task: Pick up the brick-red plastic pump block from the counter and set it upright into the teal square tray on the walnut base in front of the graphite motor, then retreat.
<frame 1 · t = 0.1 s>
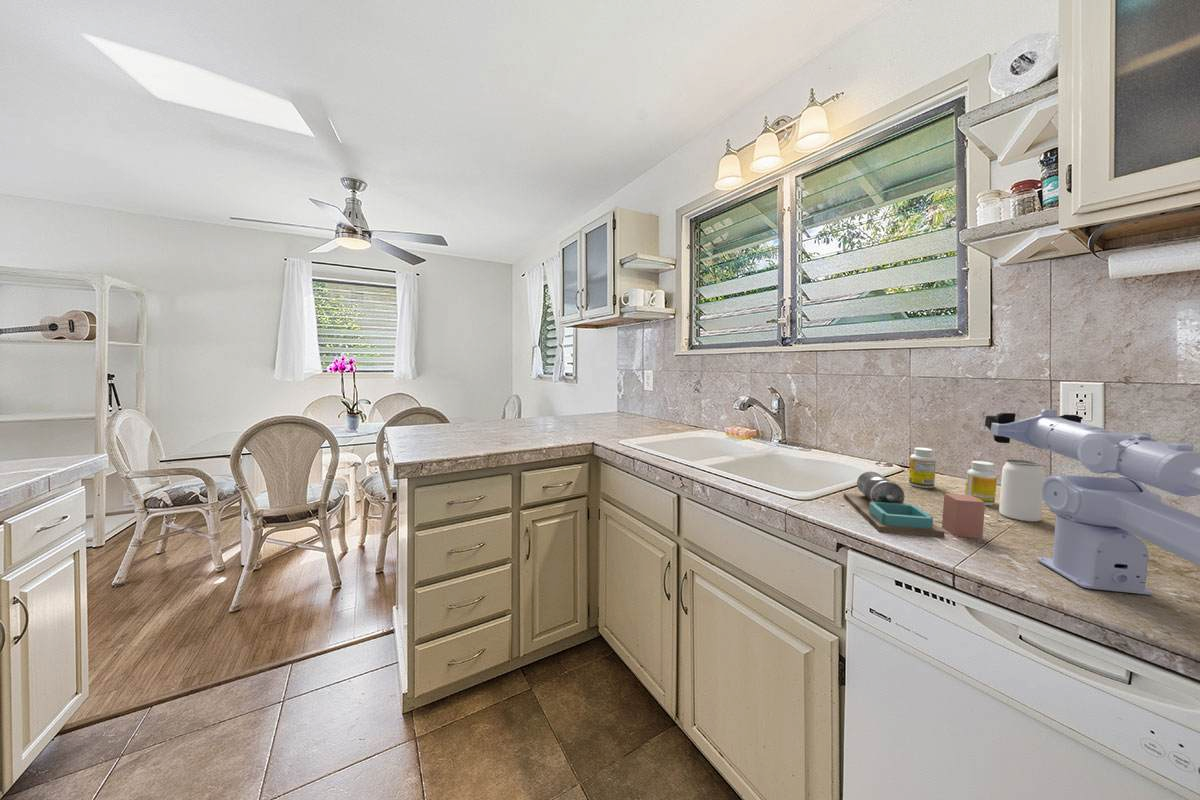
hand: (1010, 421, 83), 22 cm above the countertop, tool horizontal, fingers open, 7 cm apart
can: (1019, 518, 91), on the countertop
teal square tray: (899, 514, 87), on the base plate, point 1 cm above the countertop
supplement bottle: (979, 502, 101), on the countertop
supplement bottle 2: (921, 486, 115), on the countertop
pump block: (961, 532, 83), on the countertop
base plate: (898, 523, 87), on the countertop
motor: (880, 490, 97), on the base plate, point 4 cm above the countertop
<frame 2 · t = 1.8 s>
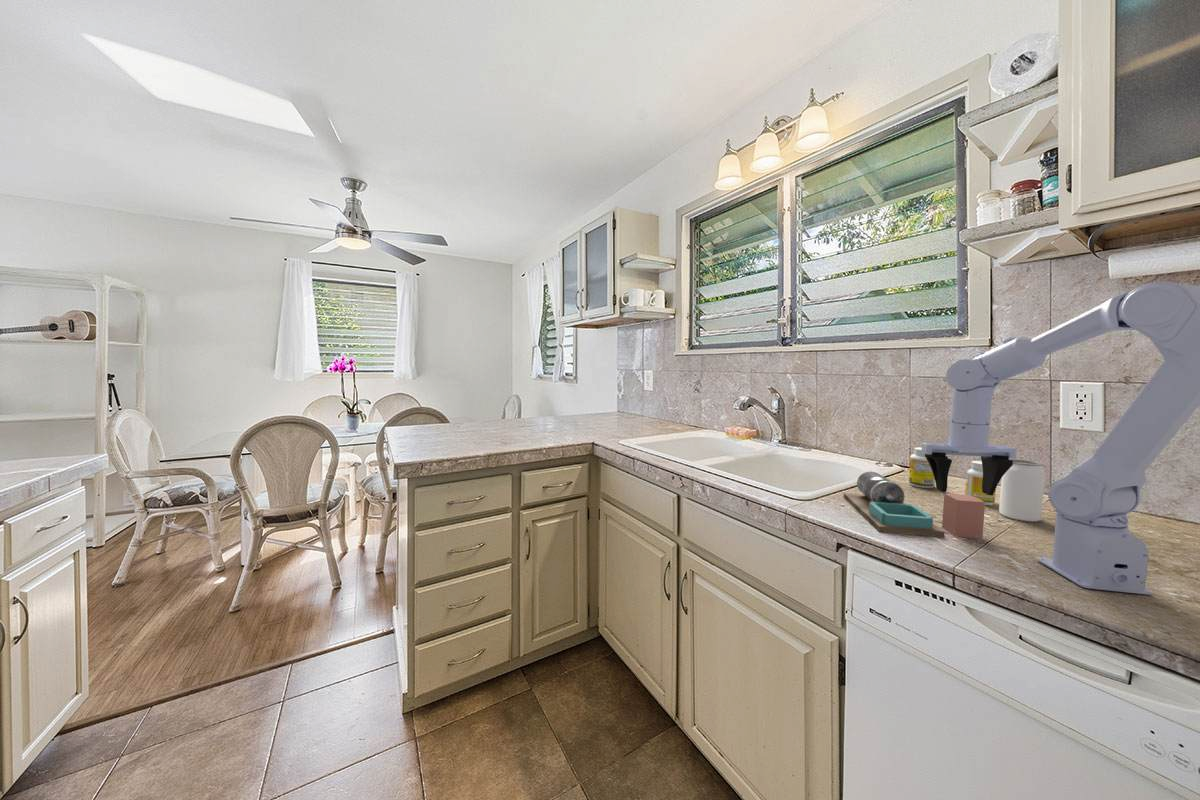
hand: (964, 492, 82), 8 cm above the countertop, tool pointing down, fingers open, 7 cm apart
nothing on the countertop moved.
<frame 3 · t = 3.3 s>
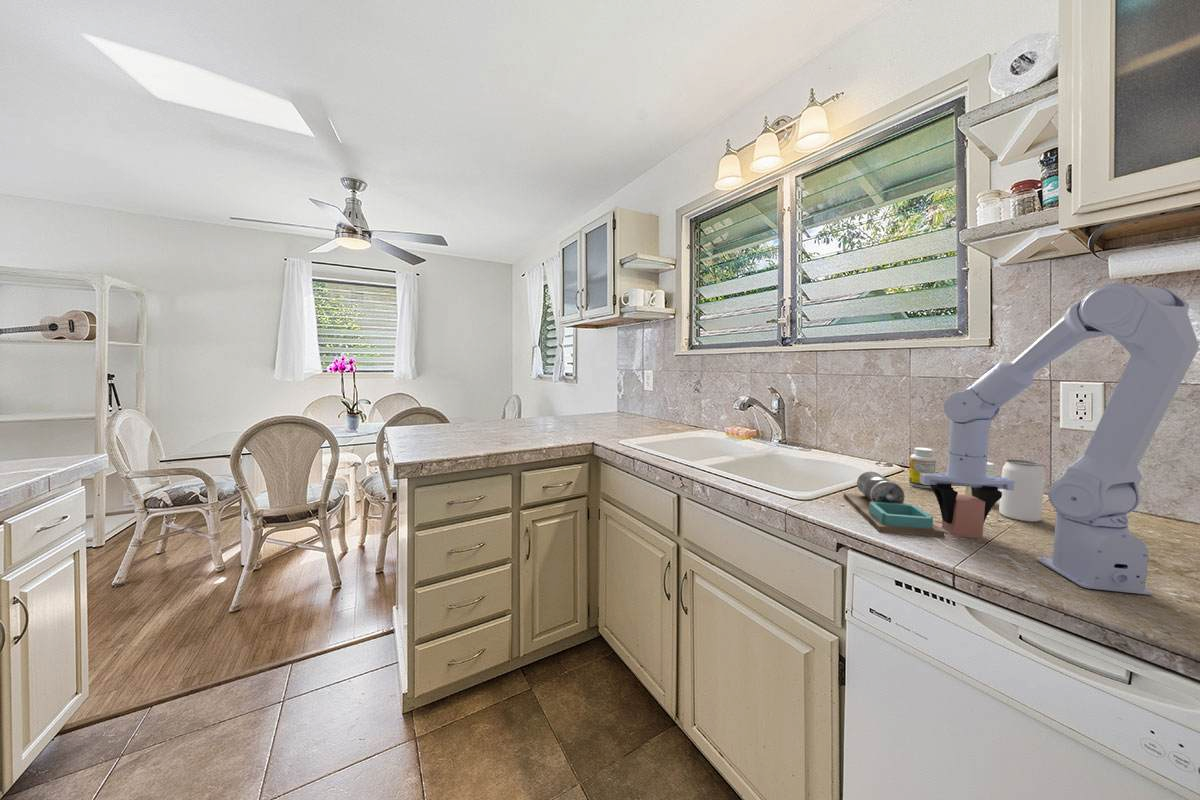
hand: (962, 522, 83), 2 cm above the countertop, tool pointing down, fingers closed on pump block, 4 cm apart
pump block: (961, 532, 83), on the countertop, touching gripper
everything else where it was.
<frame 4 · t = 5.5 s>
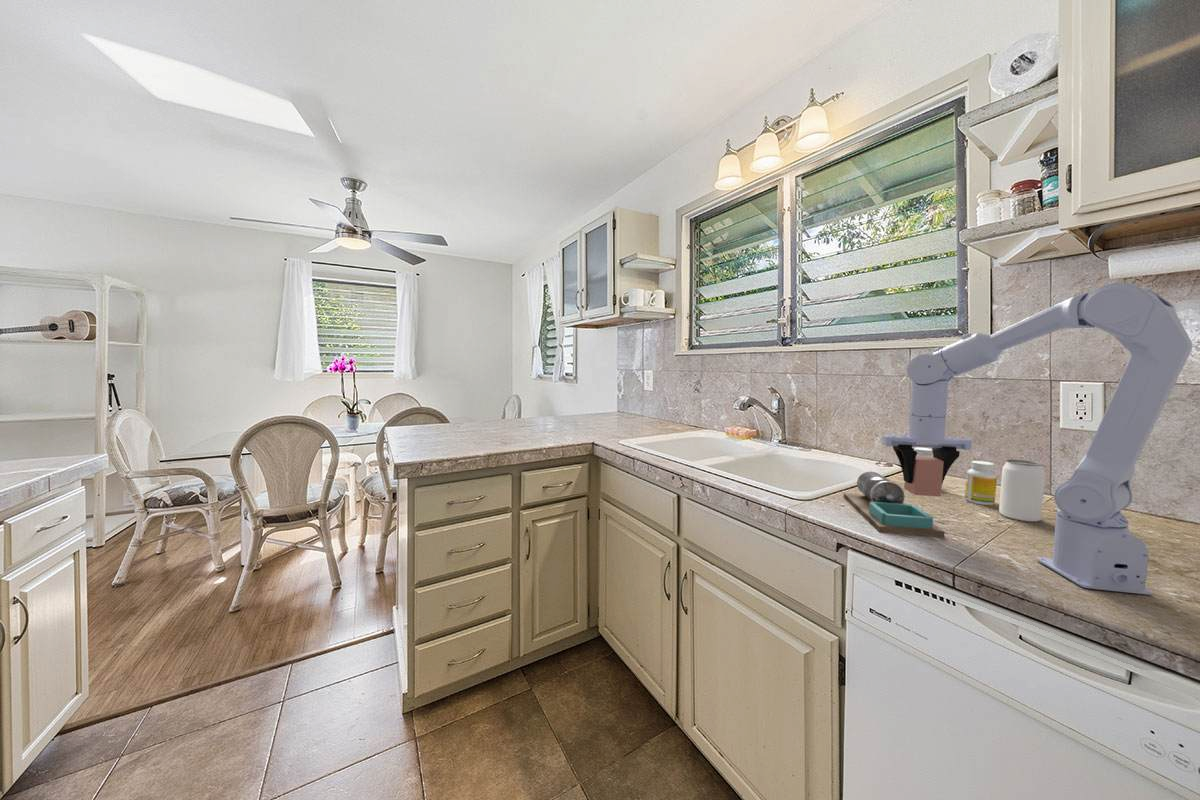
hand: (922, 482, 85), 9 cm above the countertop, tool pointing down, fingers closed on pump block, 4 cm apart
pump block: (922, 492, 85), point 7 cm above the countertop, touching gripper
everything else where it was.
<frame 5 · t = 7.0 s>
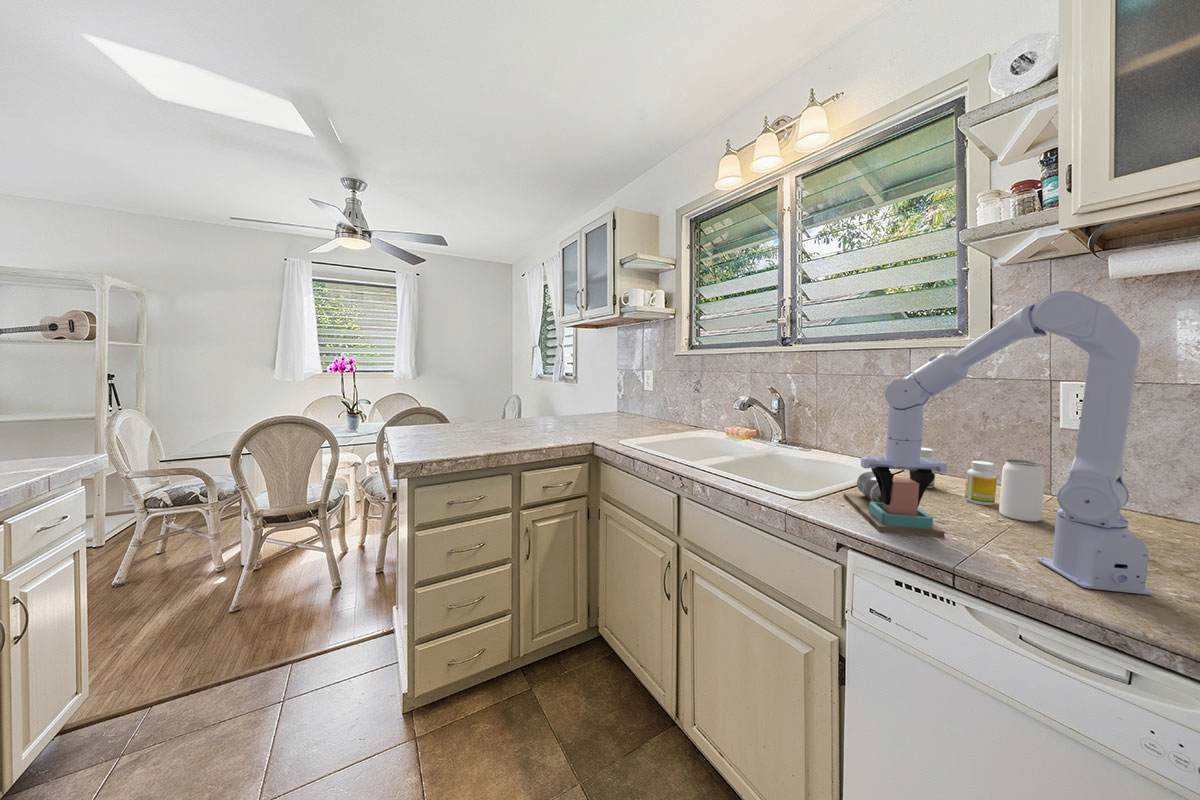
hand: (899, 504, 87), 4 cm above the countertop, tool pointing down, fingers closed on pump block, 4 cm apart
pump block: (899, 513, 87), point 2 cm above the countertop, touching gripper
everything else where it was.
when the fingers open (4 cm above the countertop, at t = 8.1 s): pump block drops 1 cm, resting on base plate.
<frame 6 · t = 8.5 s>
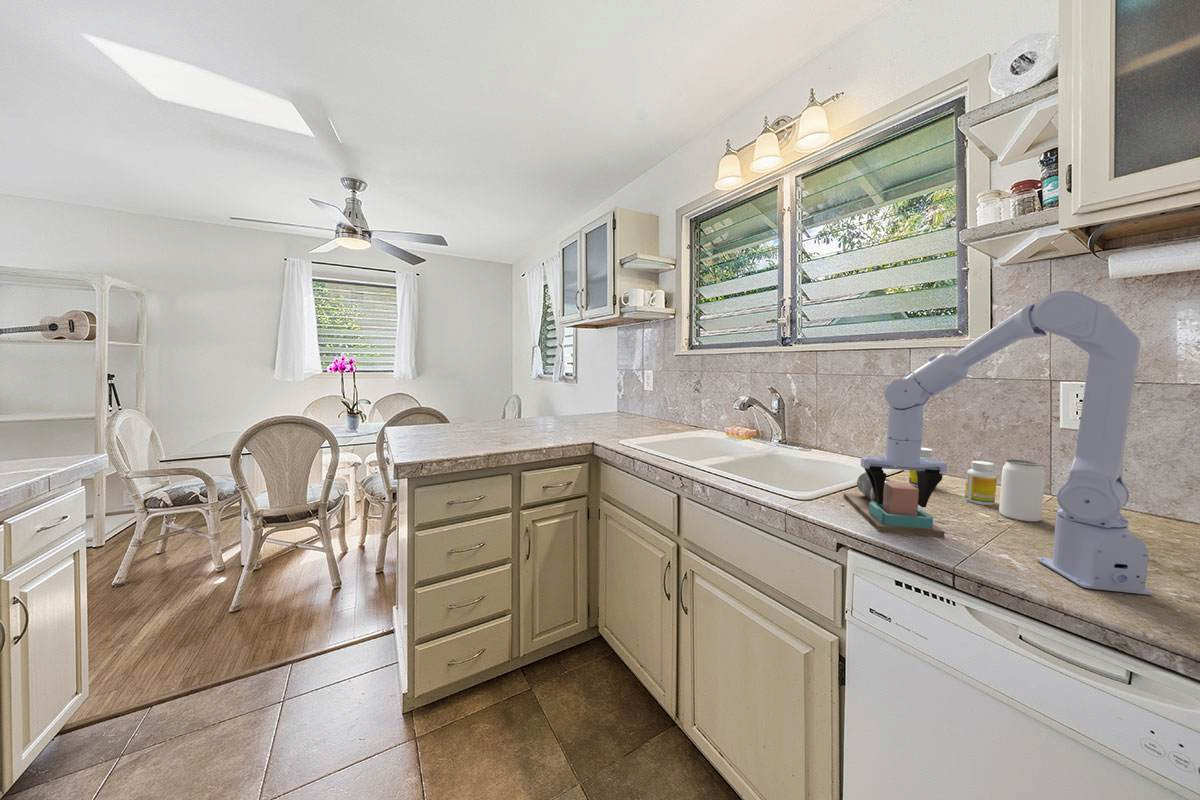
hand: (899, 504, 87), 4 cm above the countertop, tool pointing down, fingers open, 7 cm apart
pump block: (898, 519, 87), point 1 cm above the countertop, touching base plate
everything else where it was.
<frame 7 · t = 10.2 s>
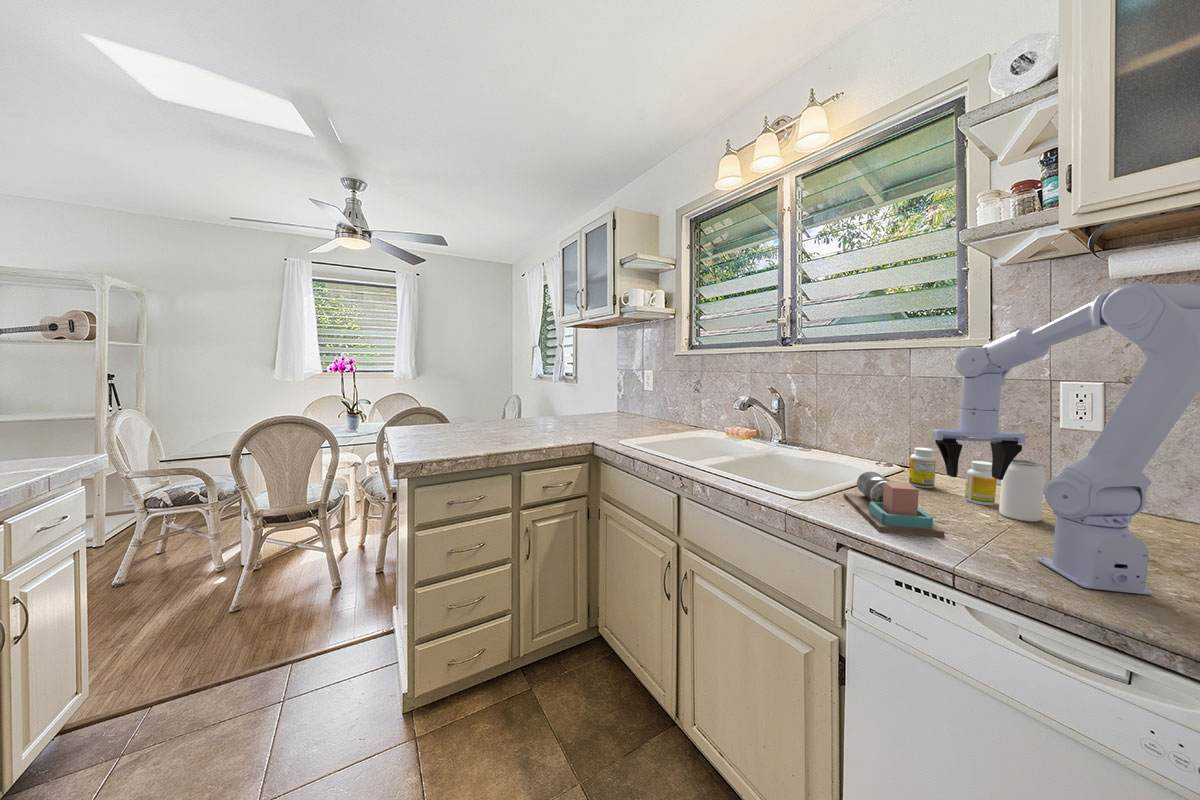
hand: (974, 477, 84), 10 cm above the countertop, tool pointing down, fingers open, 7 cm apart
nothing on the countertop moved.
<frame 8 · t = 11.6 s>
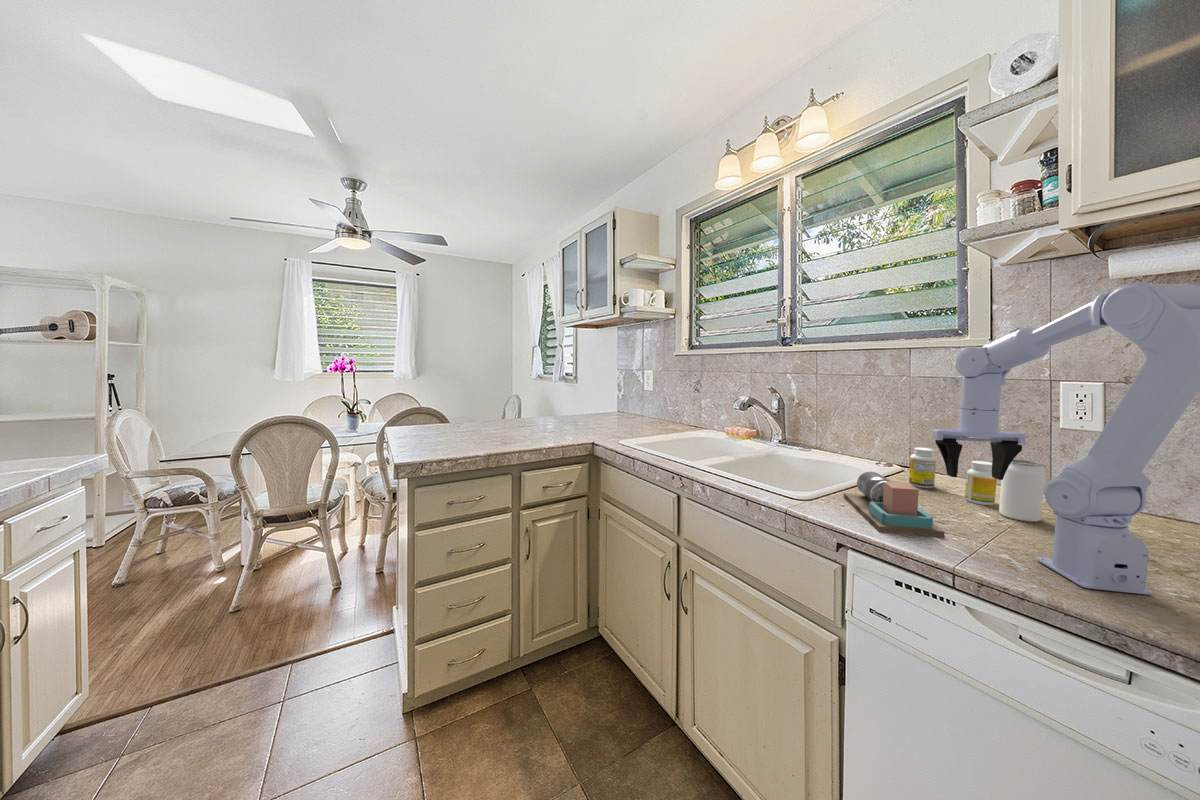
hand: (974, 477, 84), 10 cm above the countertop, tool pointing down, fingers open, 7 cm apart
nothing on the countertop moved.
at the end: pump block 0.0 cm off-centre on the teal square tray, point 1.0 cm above the teal square tray's base; pump block tilted 0°; the gripper is holding nothing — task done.
